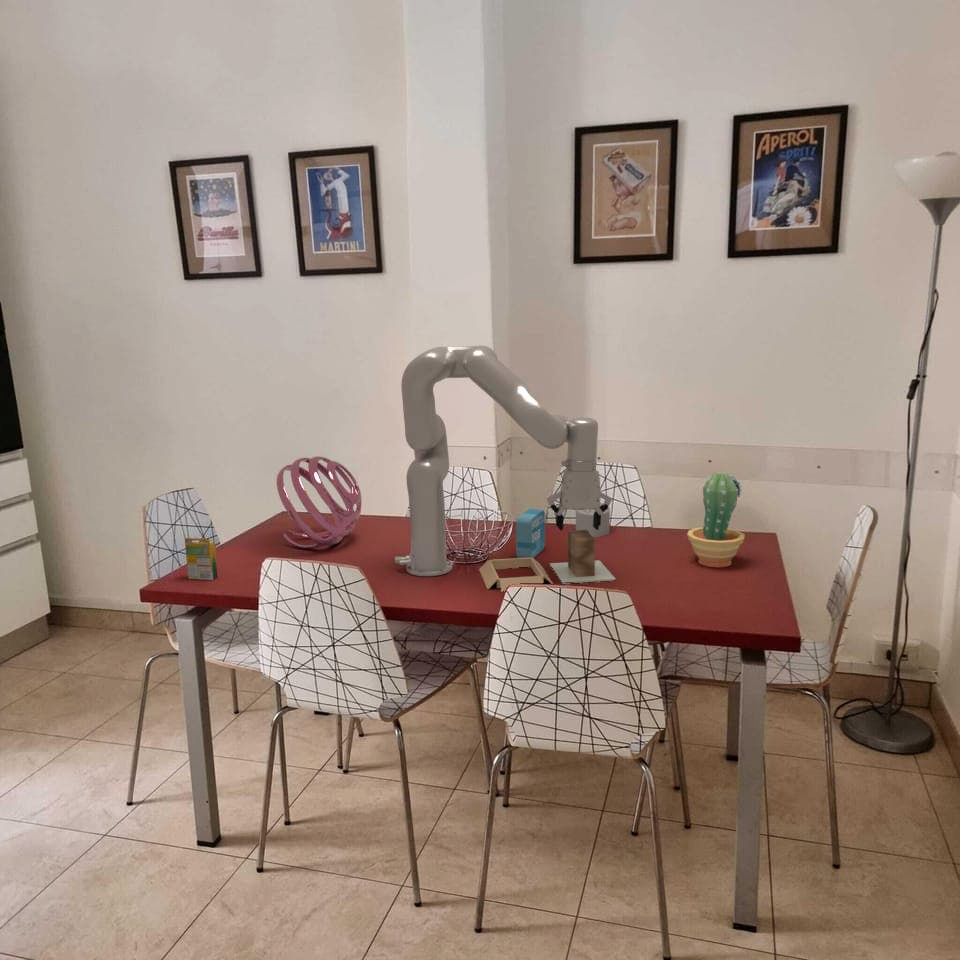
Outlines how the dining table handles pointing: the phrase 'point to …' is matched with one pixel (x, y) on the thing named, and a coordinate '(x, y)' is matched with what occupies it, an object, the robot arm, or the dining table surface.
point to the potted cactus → (717, 522)
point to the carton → (491, 565)
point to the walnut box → (581, 553)
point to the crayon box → (201, 559)
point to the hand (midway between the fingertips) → (578, 528)
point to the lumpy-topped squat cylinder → (586, 521)
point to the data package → (530, 533)
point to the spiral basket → (340, 515)
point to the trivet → (568, 576)
